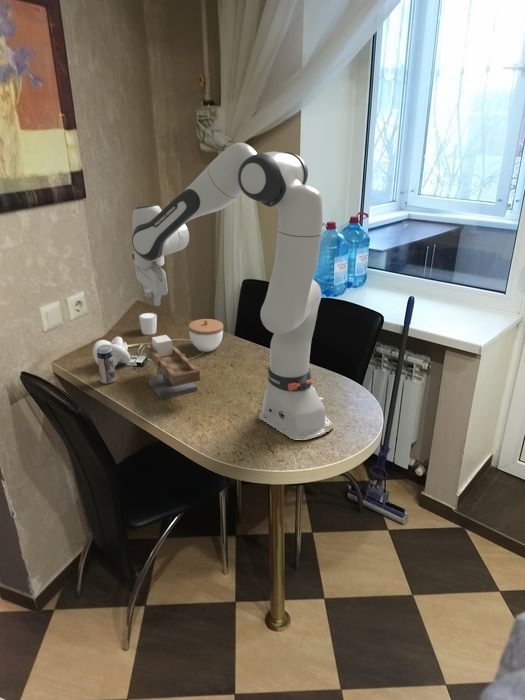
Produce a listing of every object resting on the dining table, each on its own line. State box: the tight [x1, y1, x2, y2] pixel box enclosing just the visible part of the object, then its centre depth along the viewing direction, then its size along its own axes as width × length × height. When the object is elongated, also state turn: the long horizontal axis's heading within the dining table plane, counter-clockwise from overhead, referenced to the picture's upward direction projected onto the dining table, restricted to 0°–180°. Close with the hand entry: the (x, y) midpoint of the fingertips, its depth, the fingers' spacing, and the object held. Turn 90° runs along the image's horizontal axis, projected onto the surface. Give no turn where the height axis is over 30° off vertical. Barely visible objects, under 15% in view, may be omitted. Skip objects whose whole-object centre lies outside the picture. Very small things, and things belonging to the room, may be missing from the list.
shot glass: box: [138, 312, 158, 336], centre depth 197 cm, size 7×7×7 cm
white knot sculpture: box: [92, 336, 131, 368], centre depth 170 cm, size 11×12×9 cm
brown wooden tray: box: [144, 342, 201, 400], centre depth 157 cm, size 25×12×10 cm, turn 31°
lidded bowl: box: [188, 318, 224, 353], centre depth 184 cm, size 13×13×11 cm
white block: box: [151, 334, 173, 357], centre depth 160 cm, size 5×5×5 cm
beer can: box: [97, 345, 116, 385], centre depth 159 cm, size 5×5×12 cm
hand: (152, 301), depth 160 cm, fingers open, 7 cm apart
